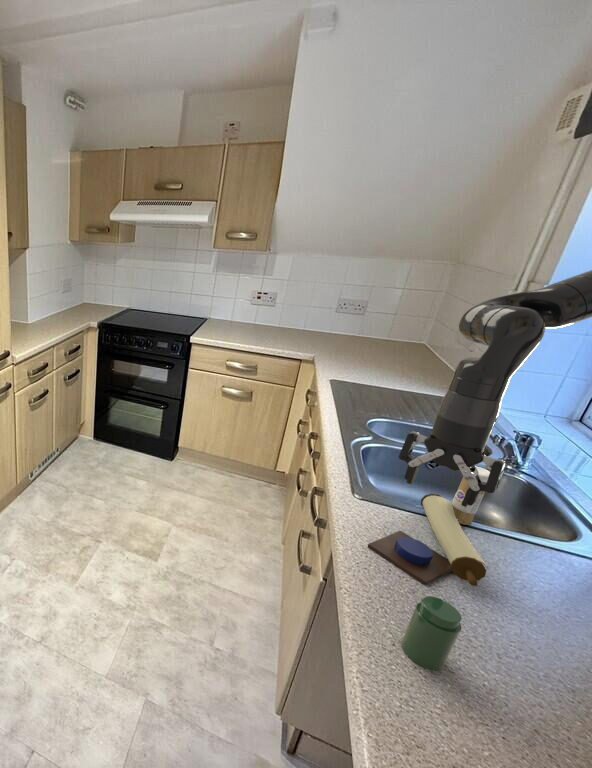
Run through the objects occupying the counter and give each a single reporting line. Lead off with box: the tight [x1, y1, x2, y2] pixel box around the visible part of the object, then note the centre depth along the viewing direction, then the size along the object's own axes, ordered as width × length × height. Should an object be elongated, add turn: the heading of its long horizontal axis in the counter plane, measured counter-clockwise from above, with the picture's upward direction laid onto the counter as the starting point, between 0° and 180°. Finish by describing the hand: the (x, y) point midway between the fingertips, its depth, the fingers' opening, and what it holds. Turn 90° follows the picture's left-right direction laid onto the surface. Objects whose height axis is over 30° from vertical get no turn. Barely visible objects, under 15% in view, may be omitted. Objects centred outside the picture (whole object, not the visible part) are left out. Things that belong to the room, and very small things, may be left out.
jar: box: [400, 595, 463, 671], centre depth 64 cm, size 5×5×10 cm
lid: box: [395, 537, 433, 565], centre depth 85 cm, size 6×6×2 cm
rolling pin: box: [420, 493, 489, 587], centre depth 88 cm, size 32×6×5 cm, turn 152°
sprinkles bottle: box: [451, 465, 490, 526], centre depth 95 cm, size 5×5×13 cm
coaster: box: [367, 530, 453, 586], centre depth 85 cm, size 11×11×1 cm
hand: (436, 493), depth 79 cm, fingers open, 8 cm apart
